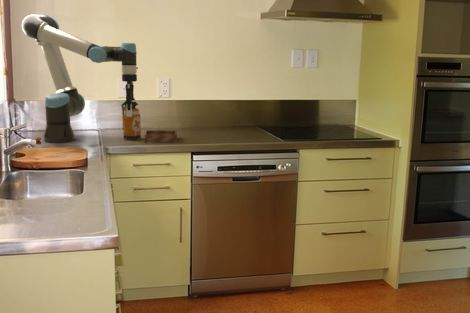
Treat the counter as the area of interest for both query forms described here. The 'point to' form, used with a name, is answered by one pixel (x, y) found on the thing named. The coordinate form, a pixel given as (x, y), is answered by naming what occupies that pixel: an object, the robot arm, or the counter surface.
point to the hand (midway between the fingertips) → (130, 114)
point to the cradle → (161, 136)
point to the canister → (131, 123)
